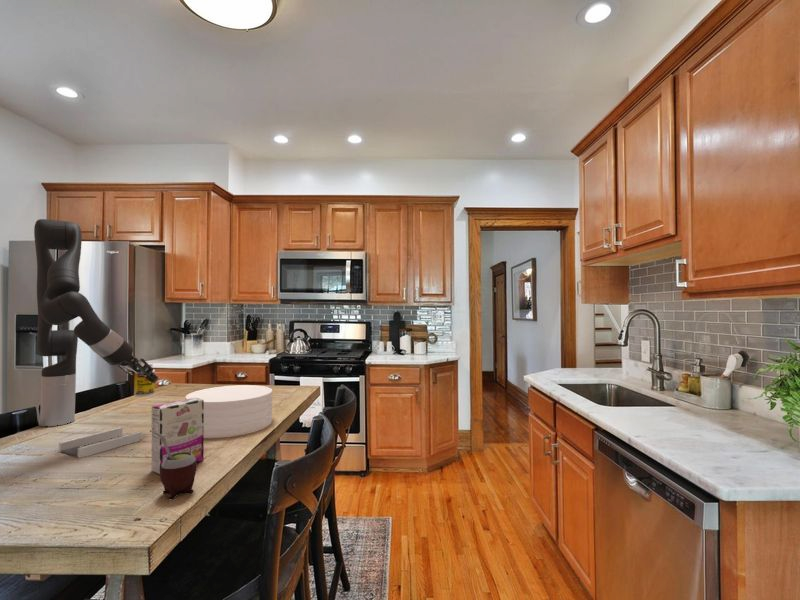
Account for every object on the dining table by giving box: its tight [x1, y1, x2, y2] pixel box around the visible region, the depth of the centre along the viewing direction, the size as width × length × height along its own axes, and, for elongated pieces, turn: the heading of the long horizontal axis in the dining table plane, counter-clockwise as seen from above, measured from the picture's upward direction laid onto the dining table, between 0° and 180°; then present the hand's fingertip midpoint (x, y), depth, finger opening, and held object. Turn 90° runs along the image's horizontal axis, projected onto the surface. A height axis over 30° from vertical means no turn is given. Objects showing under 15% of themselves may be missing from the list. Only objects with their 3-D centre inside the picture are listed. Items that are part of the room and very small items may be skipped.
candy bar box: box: [151, 398, 205, 476], centre depth 99 cm, size 11×5×16 cm, turn 148°
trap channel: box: [58, 426, 142, 459], centre depth 113 cm, size 16×11×2 cm
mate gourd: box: [149, 429, 198, 500], centre depth 84 cm, size 8×8×15 cm
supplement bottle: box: [133, 362, 156, 397], centre depth 125 cm, size 6×6×10 cm
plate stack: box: [184, 384, 273, 439], centre depth 134 cm, size 28×28×12 cm
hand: (149, 379), depth 126 cm, fingers closed on supplement bottle, 5 cm apart
